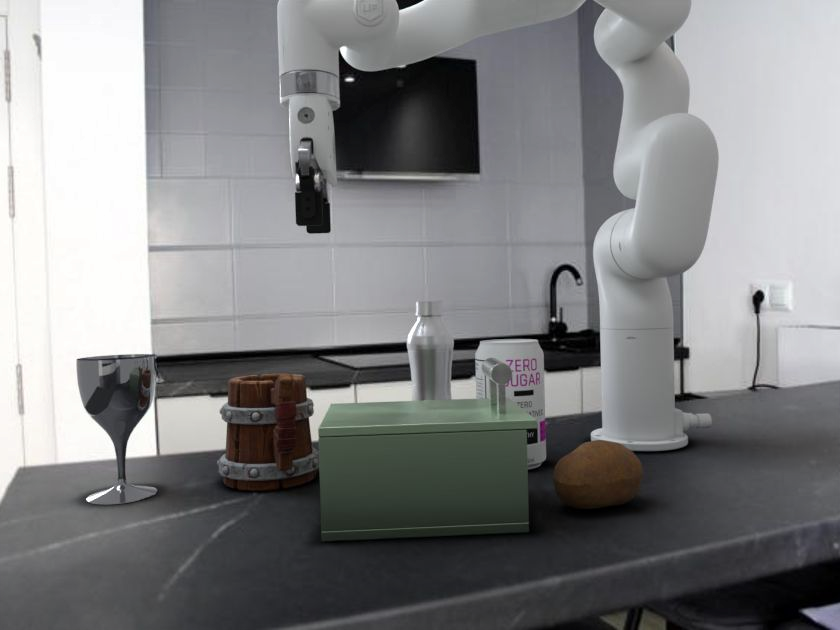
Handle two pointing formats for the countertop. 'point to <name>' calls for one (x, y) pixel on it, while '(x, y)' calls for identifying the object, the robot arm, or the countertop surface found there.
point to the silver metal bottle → (430, 353)
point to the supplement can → (519, 385)
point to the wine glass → (118, 410)
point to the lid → (432, 412)
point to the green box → (423, 485)
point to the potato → (598, 475)
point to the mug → (268, 433)
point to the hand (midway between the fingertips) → (314, 229)
